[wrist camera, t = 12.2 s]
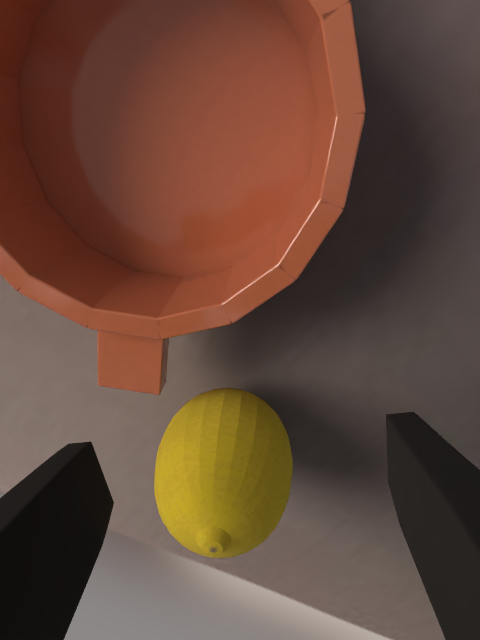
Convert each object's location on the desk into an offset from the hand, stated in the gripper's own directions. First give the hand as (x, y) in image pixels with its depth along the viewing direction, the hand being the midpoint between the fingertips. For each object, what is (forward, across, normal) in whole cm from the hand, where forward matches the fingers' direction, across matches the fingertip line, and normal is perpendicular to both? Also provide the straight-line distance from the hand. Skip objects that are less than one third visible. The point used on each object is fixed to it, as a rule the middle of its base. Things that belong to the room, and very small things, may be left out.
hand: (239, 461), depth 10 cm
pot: (+9, +2, -8) cm, 12 cm away
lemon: (+10, +2, +5) cm, 11 cm away
